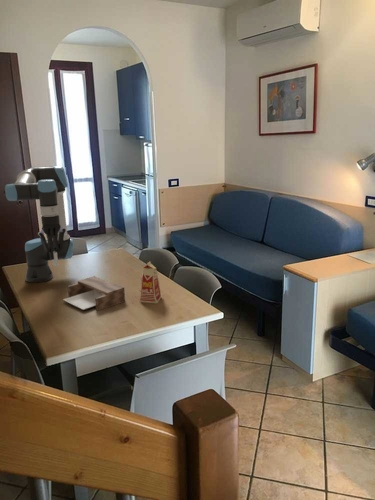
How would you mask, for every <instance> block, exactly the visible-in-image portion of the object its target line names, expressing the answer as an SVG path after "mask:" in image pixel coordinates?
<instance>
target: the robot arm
mask: <svg viewBox="0 0 375 500" xmlns="http://www.w3.org/2000/svg"><path fill="white" fill-rule="evenodd" d="M68 184H69V183H68V180H67V174H66V171H65V168H64V167H63V166H61V165H59V166H58V165H49V166H46V165H45V166H34V167H33V166H32V167H29V168H26V169H23V170H22V171H20V172H19V173H18V174H17V176H16V181H15V182H14V183H10V184H9V183H8V184H5V187H4V189H5V191H4V192H5V197H6V199H7V200H8V201H9V202H13V201H14V202H18V201H31V200H32V201H36V200H39V209H40V215H41V219H40V220H41V225H42V226H41V230H40V231H39V232H38V231H37V233H36V234H37V236H39V238H38V237H37V238H34V239H31V240H28V241H26V242H25V244H24V251H25V258H26V267H27V268H26V272H25V276H24V277H25V278H24V279H25V281H26V282H28V283H43V282H47V281H50V280H52V279H53V277H54V275H53V272H52V269H51V268H50V265H49V261H51V262H52V263H51V264H52V267H55V268H56V267H59V261H61V260H68V259H72V257H73V251H74V238H71V236H70V234H69V233H68V230H67V221H66V211H65V199H64V198H65V197H64V193H65V192H66V188H68V187H69V186H68ZM45 235H46V236H45Z"/></svg>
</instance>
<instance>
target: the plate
mask: <svg viewBox="0 0 375 500" xmlns="http://www.w3.org/2000/svg"><path fill="white" fill-rule="evenodd" d="M103 295H106V294H103V293H101V292H98V291H96V290H92V291H88V292H85V293H82V294H79V295H76V296H72V297H69V296H68V297H66V298H63V299H62V301H63V302H65V303H68V304H70V305H72V306H74V307H75V308H78V309H81V310H82V311H86V310H89V309H91V308H94V307H95V308H96V303H95V298H97V297H100V296H103Z"/></svg>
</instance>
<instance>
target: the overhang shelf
mask: <svg viewBox="0 0 375 500" xmlns="http://www.w3.org/2000/svg"><path fill="white" fill-rule="evenodd" d="M92 290H96V291H98V292H101V293H103V294H106V295H103V296H100V297H97V298H95V303H96V306H95V310H96V311H98V312H99V311H101V310H104V309H106V308H110V307H112V306H116V305H118V304H121V303H124V302H125V301H126V296H125V295H126V294H125V287H124V286H121V285H119V284H116V283H114V282H111V281H108V280H105V279H103V278H100V277H97V276H95V275H93V276H89V277H87V278H83V279H79V280H77V283H73V284H70V285H69V284H68V285H67V294H68V298H69V297H72V296H76V295H79V294H82V293H85V292H88V291H92Z"/></svg>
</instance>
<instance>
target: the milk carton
mask: <svg viewBox="0 0 375 500" xmlns="http://www.w3.org/2000/svg"><path fill="white" fill-rule="evenodd" d="M151 262H152V261H149V262H147V263H146V265H145V266H144V267H143V268H142V274H141V288H140V289H141V290H140V296H139V300H138V301H139V303H147V304H149V303H150V304H158V303H159V301H160V300H161V298H162V293H161V286H160V282H159V281H160V280H159V276H158V275H159V274H158V272H157V271H158V270H157V267H155V266H154V265H153V264H152V263H151Z"/></svg>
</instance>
